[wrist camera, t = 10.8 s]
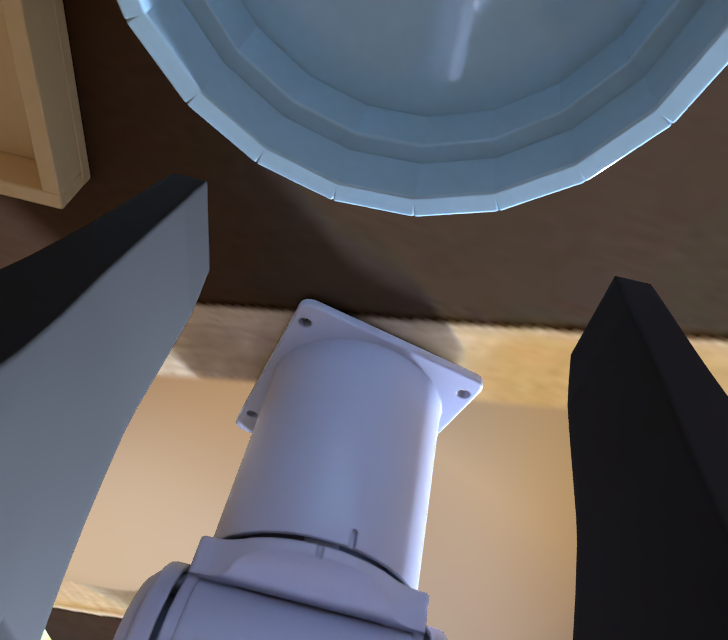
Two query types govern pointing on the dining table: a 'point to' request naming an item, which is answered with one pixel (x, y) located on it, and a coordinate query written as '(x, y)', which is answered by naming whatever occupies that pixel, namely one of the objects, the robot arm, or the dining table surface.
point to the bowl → (436, 89)
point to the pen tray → (39, 106)
